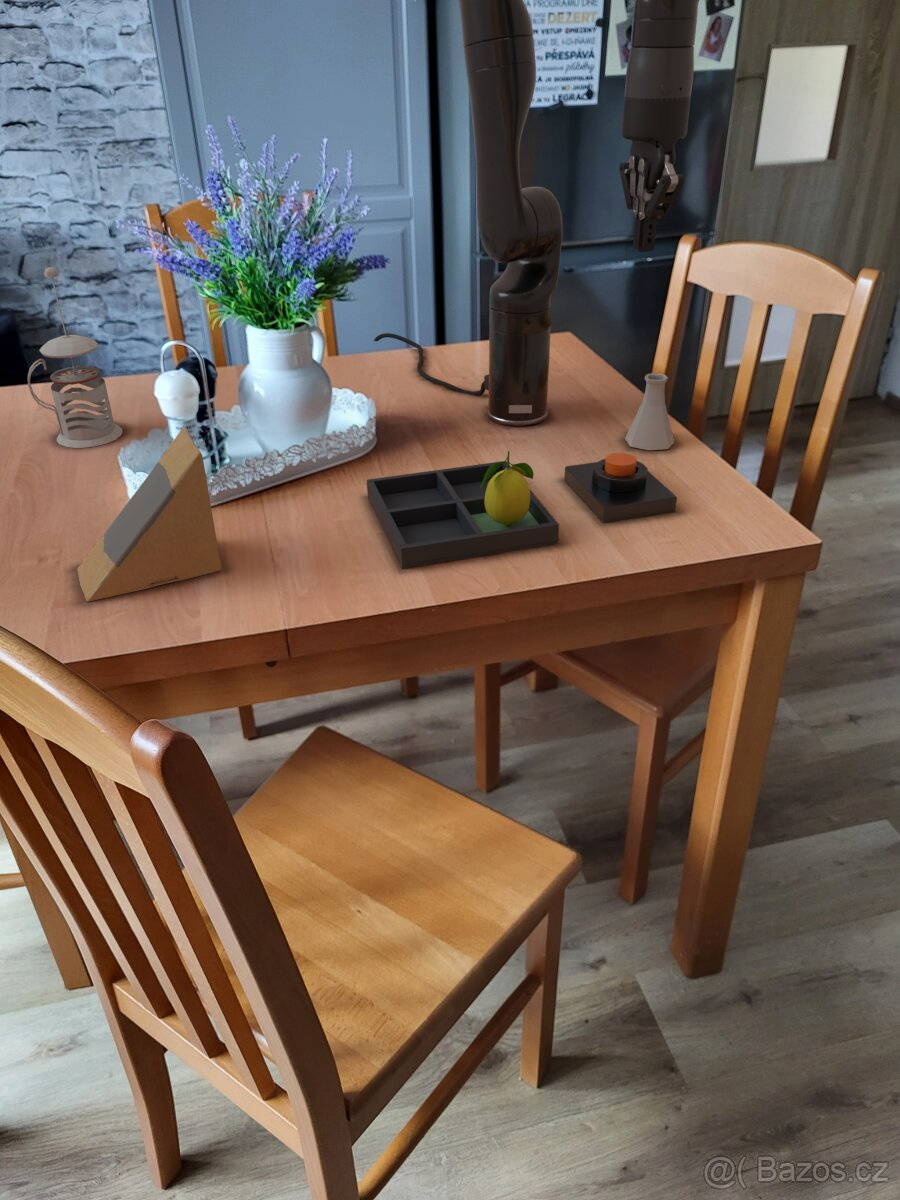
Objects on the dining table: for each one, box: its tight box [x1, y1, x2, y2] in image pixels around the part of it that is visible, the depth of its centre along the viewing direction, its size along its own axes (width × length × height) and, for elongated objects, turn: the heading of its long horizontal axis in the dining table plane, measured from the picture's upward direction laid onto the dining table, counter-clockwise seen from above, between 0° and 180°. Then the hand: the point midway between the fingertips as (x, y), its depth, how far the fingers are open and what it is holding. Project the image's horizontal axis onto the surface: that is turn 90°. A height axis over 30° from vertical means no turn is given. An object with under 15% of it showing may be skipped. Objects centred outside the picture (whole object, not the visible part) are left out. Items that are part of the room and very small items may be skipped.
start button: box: [604, 452, 638, 476], centre depth 121 cm, size 4×4×2 cm
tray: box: [366, 460, 560, 570], centre depth 118 cm, size 19×19×3 cm
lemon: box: [480, 450, 534, 527], centre depth 113 cm, size 7×6×10 cm
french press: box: [27, 266, 124, 449], centre depth 137 cm, size 10×12×25 cm
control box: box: [563, 458, 678, 524], centre depth 122 cm, size 13×10×4 cm
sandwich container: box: [77, 426, 223, 602], centre depth 105 cm, size 9×15×15 cm, turn 116°
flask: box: [624, 372, 675, 451], centre depth 136 cm, size 7×7×10 cm
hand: (643, 250), depth 116 cm, fingers closed
